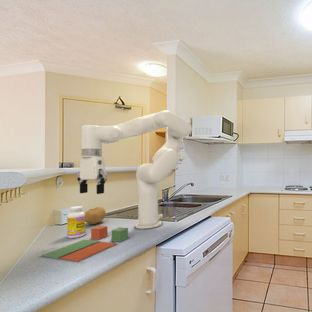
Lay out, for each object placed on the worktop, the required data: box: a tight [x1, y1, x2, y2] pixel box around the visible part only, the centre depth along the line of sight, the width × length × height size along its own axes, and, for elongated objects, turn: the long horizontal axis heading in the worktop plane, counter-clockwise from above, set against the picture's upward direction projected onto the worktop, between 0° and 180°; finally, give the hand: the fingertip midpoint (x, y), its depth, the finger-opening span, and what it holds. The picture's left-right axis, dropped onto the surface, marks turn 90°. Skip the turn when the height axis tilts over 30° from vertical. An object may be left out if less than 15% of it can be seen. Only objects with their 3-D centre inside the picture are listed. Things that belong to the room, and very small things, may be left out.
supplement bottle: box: [66, 205, 86, 239], centre depth 103 cm, size 7×7×13 cm
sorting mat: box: [41, 239, 117, 263], centre depth 87 cm, size 16×17×1 cm
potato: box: [84, 206, 107, 225], centre depth 123 cm, size 10×14×8 cm
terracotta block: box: [90, 225, 109, 241], centre depth 101 cm, size 4×4×4 cm
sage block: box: [111, 226, 129, 243], centre depth 97 cm, size 4×4×4 cm
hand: (91, 193), depth 100 cm, fingers open, 9 cm apart
